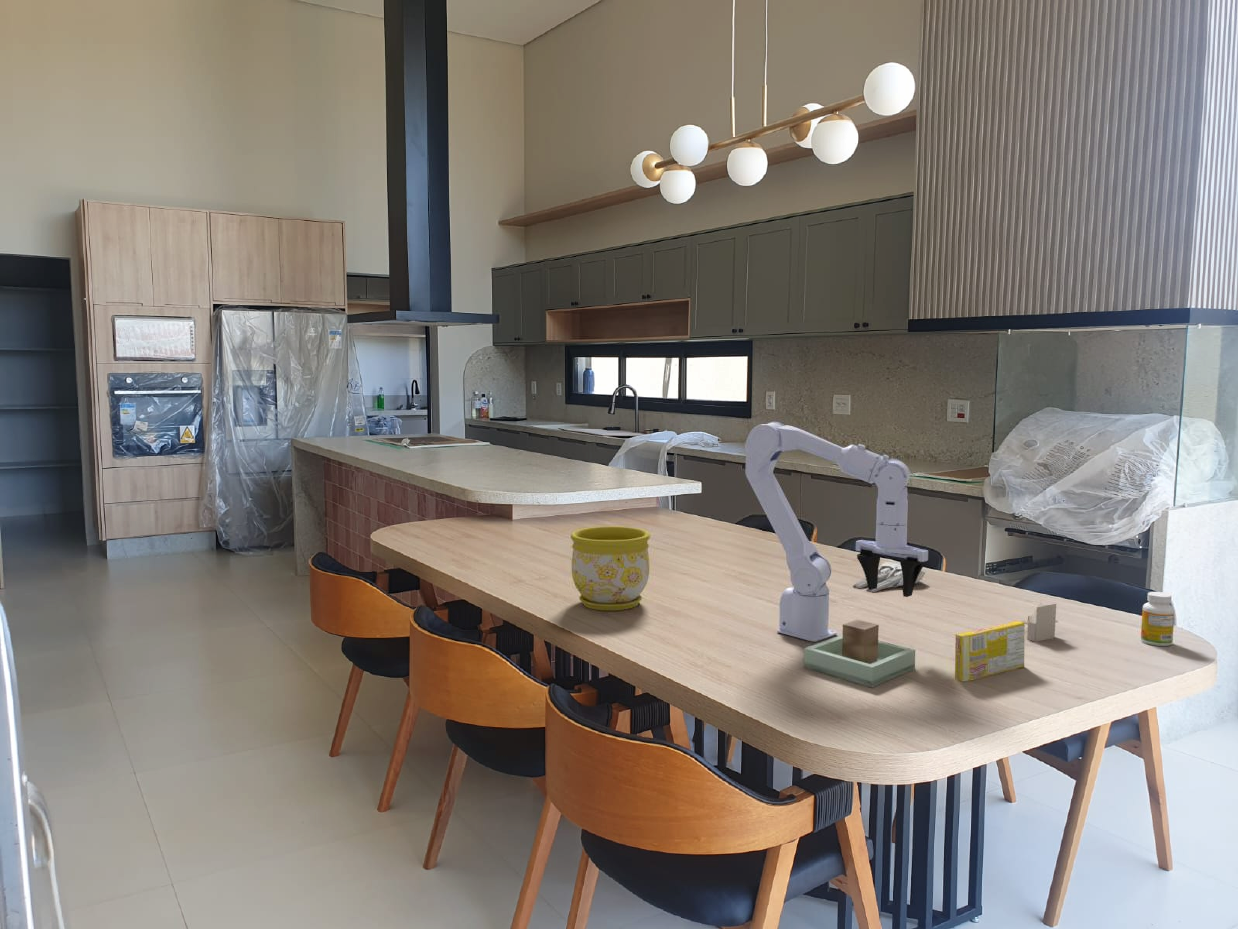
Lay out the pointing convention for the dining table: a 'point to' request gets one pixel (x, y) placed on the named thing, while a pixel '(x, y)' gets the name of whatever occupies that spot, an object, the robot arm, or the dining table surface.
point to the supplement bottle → (1157, 620)
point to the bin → (859, 662)
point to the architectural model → (1042, 623)
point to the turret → (888, 577)
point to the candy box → (989, 651)
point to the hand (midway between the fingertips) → (889, 592)
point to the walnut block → (860, 641)
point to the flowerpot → (610, 566)
